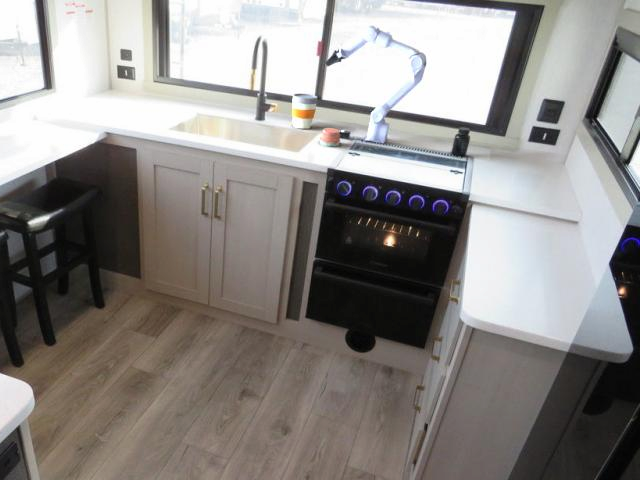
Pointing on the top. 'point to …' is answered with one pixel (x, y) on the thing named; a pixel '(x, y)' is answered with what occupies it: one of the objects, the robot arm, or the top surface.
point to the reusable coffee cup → (303, 110)
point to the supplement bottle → (461, 142)
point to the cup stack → (330, 137)
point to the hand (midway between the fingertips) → (328, 63)
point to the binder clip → (344, 134)
